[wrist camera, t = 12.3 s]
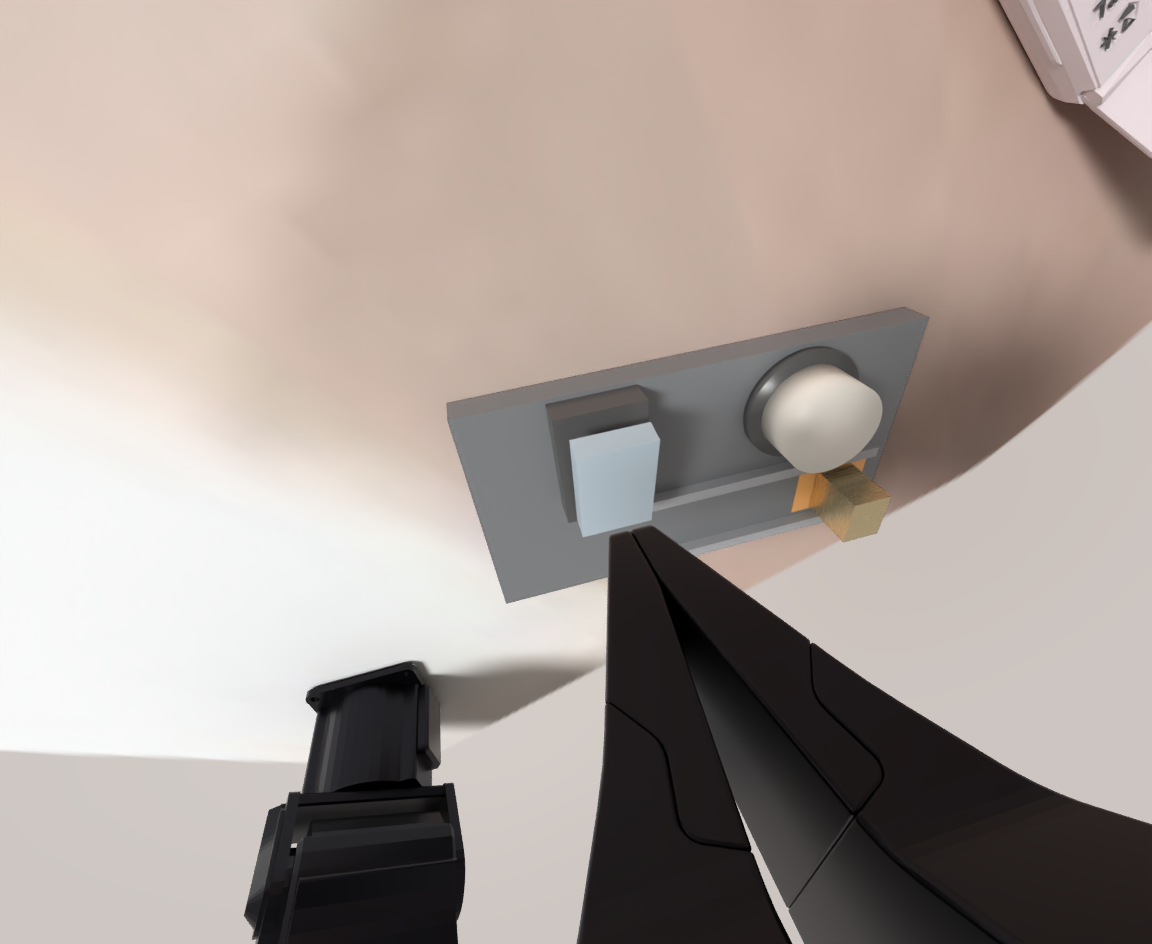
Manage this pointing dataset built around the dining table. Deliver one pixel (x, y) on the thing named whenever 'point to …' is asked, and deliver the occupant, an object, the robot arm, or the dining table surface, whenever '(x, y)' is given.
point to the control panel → (665, 446)
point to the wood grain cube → (849, 502)
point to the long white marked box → (1093, 57)
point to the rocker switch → (615, 477)
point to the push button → (821, 418)
